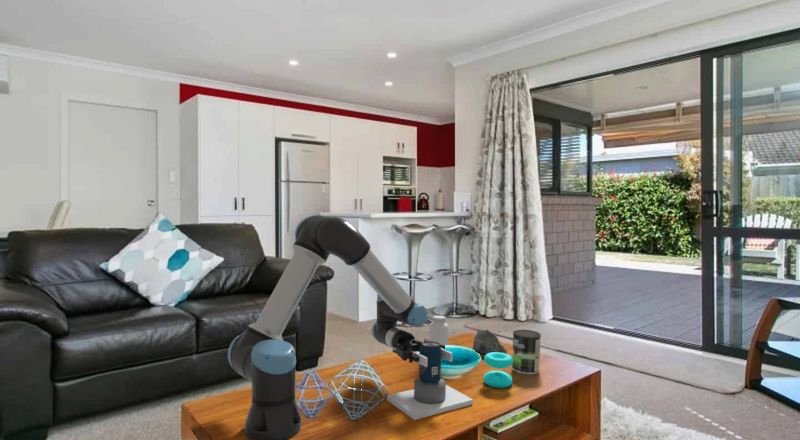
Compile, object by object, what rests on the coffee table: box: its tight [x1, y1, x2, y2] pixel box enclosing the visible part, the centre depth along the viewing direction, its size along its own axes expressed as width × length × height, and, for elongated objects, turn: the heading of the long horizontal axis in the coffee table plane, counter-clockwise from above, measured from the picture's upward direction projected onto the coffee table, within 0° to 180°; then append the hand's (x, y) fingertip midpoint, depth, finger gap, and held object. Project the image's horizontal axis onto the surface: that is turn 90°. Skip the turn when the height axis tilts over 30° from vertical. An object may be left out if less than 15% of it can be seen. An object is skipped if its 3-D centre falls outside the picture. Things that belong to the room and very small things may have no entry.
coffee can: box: [511, 329, 542, 375], centre depth 184 cm, size 10×10×14 cm
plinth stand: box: [386, 377, 474, 421], centre depth 154 cm, size 22×16×6 cm
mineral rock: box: [472, 329, 508, 355], centre depth 202 cm, size 13×11×10 cm
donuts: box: [483, 352, 513, 389], centre depth 170 cm, size 10×10×10 cm
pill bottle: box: [428, 315, 449, 346], centre depth 203 cm, size 8×8×15 cm
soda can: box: [418, 342, 442, 385], centre depth 153 cm, size 7×7×12 cm
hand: (439, 359), depth 149 cm, fingers open, 9 cm apart
